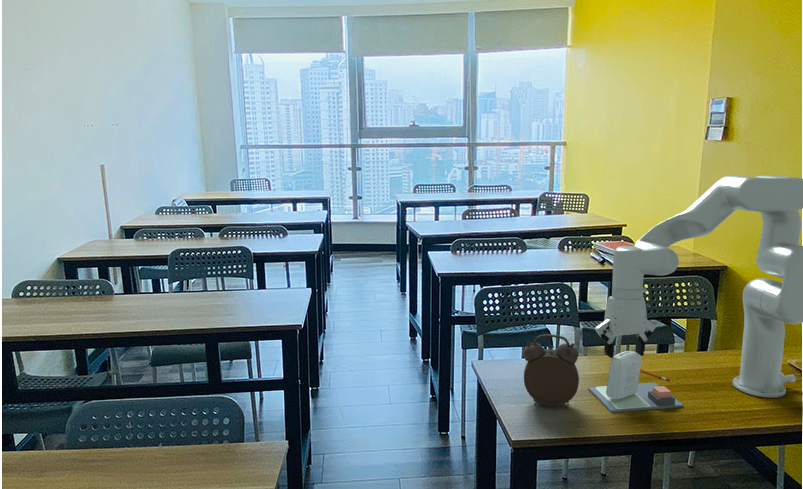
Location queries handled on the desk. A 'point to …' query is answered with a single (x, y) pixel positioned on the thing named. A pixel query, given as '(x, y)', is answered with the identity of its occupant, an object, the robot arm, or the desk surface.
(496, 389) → the desk surface
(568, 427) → the desk surface
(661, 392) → the button
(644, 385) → the activity board
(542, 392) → the alarm clock
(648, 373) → the pencil
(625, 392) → the photo printer
